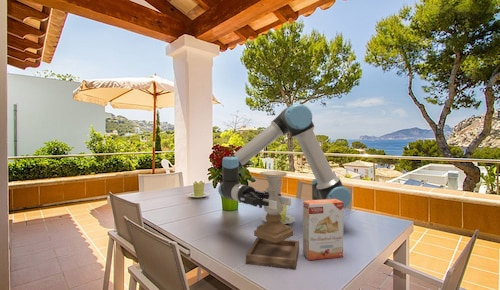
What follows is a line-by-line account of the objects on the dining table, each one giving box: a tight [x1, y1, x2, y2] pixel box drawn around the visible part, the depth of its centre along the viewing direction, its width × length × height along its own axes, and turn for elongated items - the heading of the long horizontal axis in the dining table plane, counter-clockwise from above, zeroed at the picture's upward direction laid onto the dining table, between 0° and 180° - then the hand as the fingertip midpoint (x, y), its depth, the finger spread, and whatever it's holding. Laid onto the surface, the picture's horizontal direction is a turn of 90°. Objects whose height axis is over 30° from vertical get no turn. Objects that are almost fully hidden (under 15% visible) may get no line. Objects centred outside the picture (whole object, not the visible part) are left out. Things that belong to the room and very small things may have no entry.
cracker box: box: [302, 199, 345, 261], centre depth 96 cm, size 14×6×21 cm, turn 101°
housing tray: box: [245, 237, 300, 270], centre depth 97 cm, size 17×17×3 cm
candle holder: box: [253, 170, 294, 243], centre depth 96 cm, size 11×11×24 cm
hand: (283, 203), depth 93 cm, fingers closed on candle holder, 7 cm apart
